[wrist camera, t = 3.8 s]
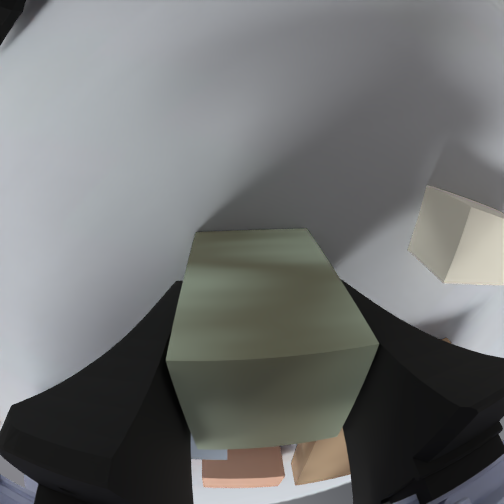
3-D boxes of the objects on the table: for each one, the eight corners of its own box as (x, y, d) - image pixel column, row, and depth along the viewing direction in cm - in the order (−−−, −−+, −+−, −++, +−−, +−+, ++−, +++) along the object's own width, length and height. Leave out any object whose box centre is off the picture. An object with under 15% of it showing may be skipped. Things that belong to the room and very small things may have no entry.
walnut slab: (291, 463, 20) (295, 485, 18) (319, 364, 14) (332, 401, 11) (379, 443, 21) (386, 463, 19) (447, 337, 14) (466, 363, 12)
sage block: (205, 319, 12) (197, 449, 6) (195, 231, 10) (165, 360, 5) (298, 315, 12) (337, 436, 7) (306, 228, 10) (379, 343, 5)
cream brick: (405, 248, 11) (443, 283, 9) (423, 183, 10) (471, 206, 7) (478, 258, 12) (511, 285, 9) (495, 208, 11) (532, 230, 8)
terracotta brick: (203, 457, 19) (203, 487, 16) (202, 445, 18) (202, 477, 15) (273, 457, 20) (277, 485, 17) (279, 444, 18) (284, 476, 16)
